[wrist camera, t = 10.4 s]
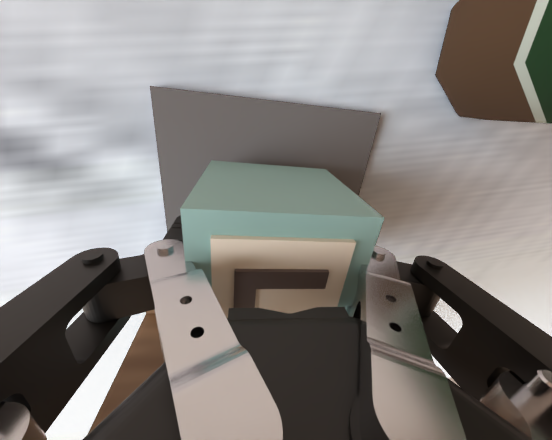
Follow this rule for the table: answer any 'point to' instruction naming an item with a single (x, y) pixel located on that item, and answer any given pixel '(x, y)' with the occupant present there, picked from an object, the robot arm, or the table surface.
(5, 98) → the table surface
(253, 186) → the letter cube
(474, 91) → the beer bottle
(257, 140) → the mat
